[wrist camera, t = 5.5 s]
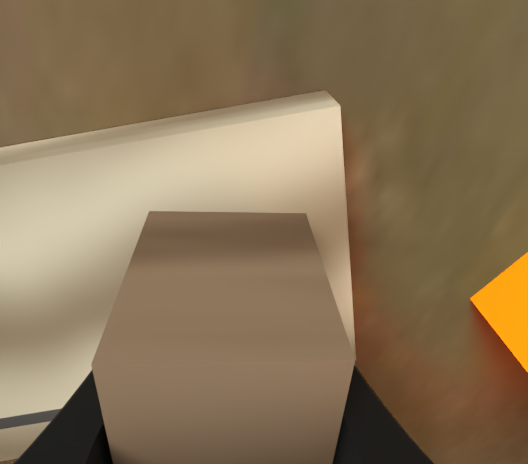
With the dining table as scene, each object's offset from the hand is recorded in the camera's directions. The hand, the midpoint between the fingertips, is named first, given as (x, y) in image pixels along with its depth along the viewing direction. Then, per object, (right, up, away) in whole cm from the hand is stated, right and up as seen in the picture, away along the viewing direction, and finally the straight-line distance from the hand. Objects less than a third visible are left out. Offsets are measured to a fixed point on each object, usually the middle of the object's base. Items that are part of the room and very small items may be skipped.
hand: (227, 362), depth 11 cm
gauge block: (0, +1, +2) cm, 2 cm away
